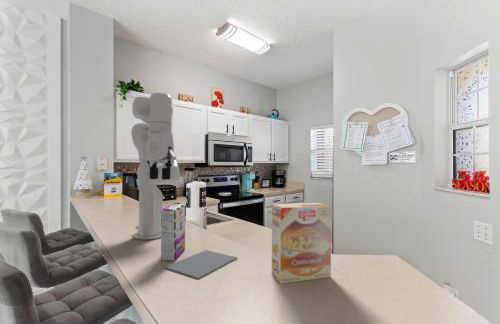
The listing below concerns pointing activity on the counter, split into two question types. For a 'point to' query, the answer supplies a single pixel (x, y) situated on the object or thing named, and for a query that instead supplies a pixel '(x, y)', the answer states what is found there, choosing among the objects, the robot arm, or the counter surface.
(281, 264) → the coffeecake box
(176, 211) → the candy bar box
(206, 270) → the mat
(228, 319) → the counter surface
